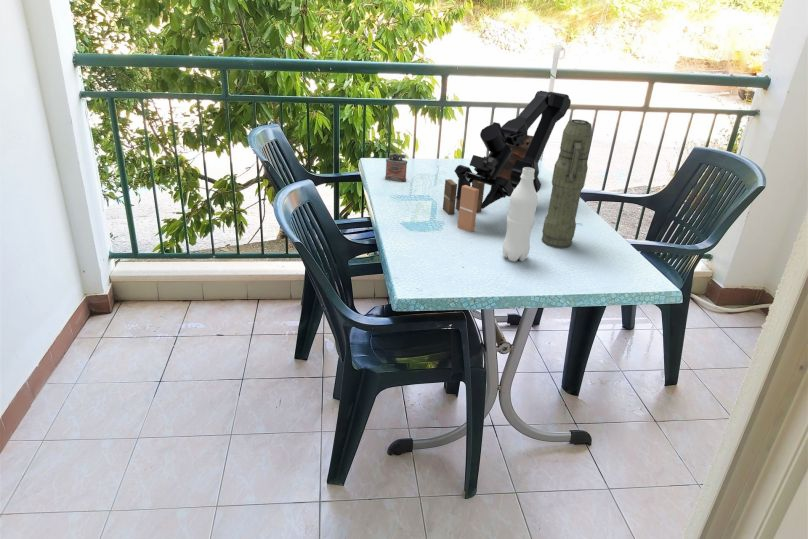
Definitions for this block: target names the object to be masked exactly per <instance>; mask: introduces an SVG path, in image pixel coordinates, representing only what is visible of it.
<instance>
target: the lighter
mask: <svg viewBox="0 0 808 539" xmlns="http://www.w3.org/2000/svg"><path fill="white" fill-rule="evenodd" d="M406 158H407V156H406V154H404V153H403V154H402V153H398V152H395V153H392V152H390V153H389V157H387V158H386V159H385V177H384V178H385V180H387V181H392V182H399V183H405V182H407V165H408V160H405V159H406Z"/></svg>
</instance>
